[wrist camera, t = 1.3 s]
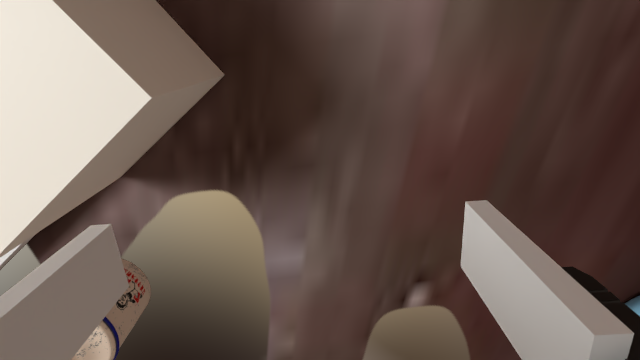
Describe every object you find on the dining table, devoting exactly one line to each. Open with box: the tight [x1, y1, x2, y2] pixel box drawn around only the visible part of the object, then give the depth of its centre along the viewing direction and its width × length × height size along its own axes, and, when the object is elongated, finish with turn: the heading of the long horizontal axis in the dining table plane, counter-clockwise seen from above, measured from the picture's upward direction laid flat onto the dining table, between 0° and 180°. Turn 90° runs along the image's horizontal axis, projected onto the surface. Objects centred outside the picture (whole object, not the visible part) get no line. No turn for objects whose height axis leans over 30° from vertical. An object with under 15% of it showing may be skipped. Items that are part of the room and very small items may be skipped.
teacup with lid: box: [71, 259, 151, 360], centre depth 38 cm, size 12×9×12 cm
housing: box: [0, 0, 225, 257], centre depth 27 cm, size 20×16×17 cm
